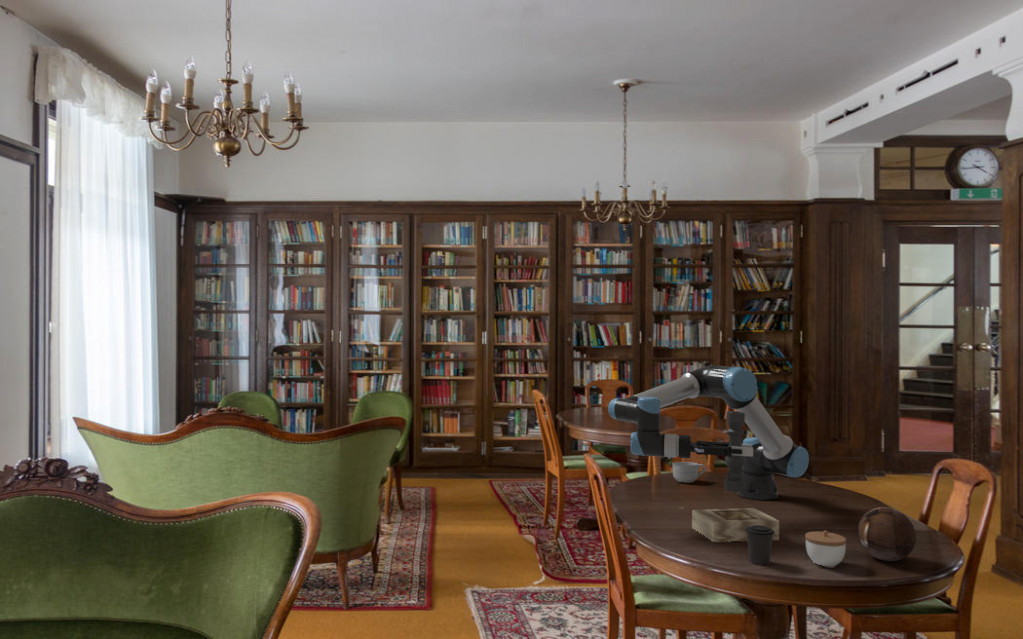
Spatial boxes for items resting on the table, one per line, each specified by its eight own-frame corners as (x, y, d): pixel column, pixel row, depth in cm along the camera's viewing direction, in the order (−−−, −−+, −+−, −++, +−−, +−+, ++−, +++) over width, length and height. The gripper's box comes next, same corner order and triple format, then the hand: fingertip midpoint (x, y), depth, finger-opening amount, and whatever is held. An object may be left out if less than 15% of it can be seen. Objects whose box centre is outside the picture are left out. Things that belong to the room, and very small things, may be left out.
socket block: (753, 525, 247) (753, 507, 247) (778, 539, 231) (779, 520, 231) (691, 528, 243) (692, 509, 243) (713, 542, 227) (713, 522, 227)
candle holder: (741, 492, 233) (742, 414, 233) (722, 490, 236) (723, 412, 236) (746, 489, 238) (747, 412, 238) (727, 486, 241) (728, 410, 241)
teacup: (672, 483, 310) (673, 464, 310) (671, 478, 320) (671, 460, 320) (706, 485, 307) (707, 466, 307) (704, 480, 318) (704, 461, 318)
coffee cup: (739, 562, 209) (739, 526, 209) (752, 555, 215) (752, 521, 215) (767, 568, 204) (767, 532, 204) (779, 562, 210) (779, 527, 210)
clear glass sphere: (906, 554, 219) (907, 503, 219) (922, 570, 204) (923, 516, 204) (852, 549, 222) (852, 500, 222) (864, 565, 207) (865, 512, 207)
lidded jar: (803, 556, 215) (803, 524, 215) (843, 560, 212) (843, 527, 212) (806, 567, 205) (807, 534, 205) (848, 572, 202) (849, 538, 202)
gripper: (679, 452, 250) (750, 457, 244) (676, 462, 233) (753, 467, 227) (679, 430, 250) (751, 434, 244) (677, 438, 233) (754, 443, 227)
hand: (752, 450), depth 236 cm, fingers closed on candle holder, 5 cm apart
